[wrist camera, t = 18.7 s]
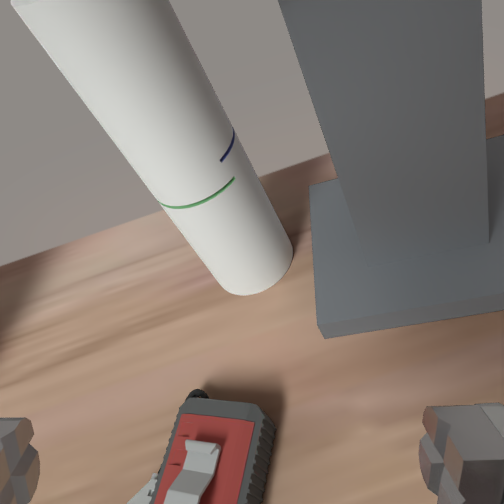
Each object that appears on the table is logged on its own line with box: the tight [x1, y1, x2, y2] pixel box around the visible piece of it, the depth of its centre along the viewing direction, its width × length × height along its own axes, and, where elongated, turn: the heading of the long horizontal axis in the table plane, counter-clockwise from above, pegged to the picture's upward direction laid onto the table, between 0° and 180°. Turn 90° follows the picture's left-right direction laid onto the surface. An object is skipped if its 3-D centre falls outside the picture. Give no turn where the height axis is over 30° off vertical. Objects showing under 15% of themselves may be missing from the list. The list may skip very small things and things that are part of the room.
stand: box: [278, 0, 504, 339], centre depth 27 cm, size 16×14×26 cm
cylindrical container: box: [11, 0, 293, 295], centre depth 33 cm, size 7×7×25 cm
